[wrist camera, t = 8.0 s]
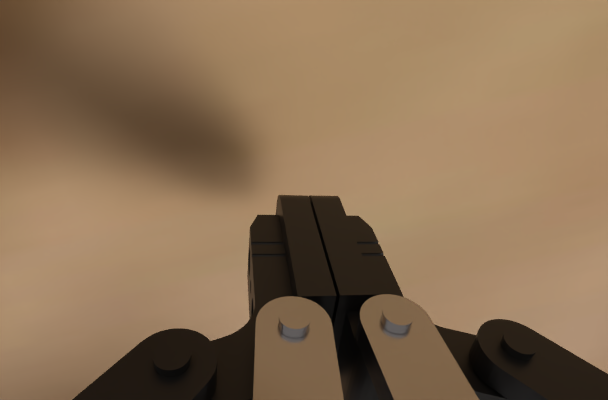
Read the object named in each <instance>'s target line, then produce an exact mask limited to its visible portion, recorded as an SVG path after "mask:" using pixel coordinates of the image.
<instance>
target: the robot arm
mask: <svg viewBox="0 0 608 400" xmlns="http://www.w3.org/2000/svg"><path fill="white" fill-rule="evenodd" d="M248 295H249V315H250V320H249V321H248V323H247V324H246V325H245V326H244V327H242V328H241V329H240V330H238V331H236V332H235V333H233V334H231V335H228V336H225V337H222V338H219V339H216V340H213V341H210V340H209V339H208V338H207V337H205V336H204V335H202V334H200V333H198V332H196V331H193V330H189V329H168V330H164V331H160V332H158V333H155V334H153V335H151V336H149V337H148V338H146V339H145V340H143V341H142V342H141V343H139V344H138V345H137V346H136V347H135V348H133V349H132V350H131V351H130V352H129V353H127V354H126V355H125V356H124V357H123V358H122V359H120V360H119V361H118V362H117V363H116V364H114V365H113V366H112V367H111V368H110V369H108V370H107V371H106V372H105V373H104V374H102V375H101V376H100V377H99V378H98V379H96V380H95V381H94V382H93V383H92V384H90V385H89V386H88V387H87V388H86V389H84V390H83V391H82V392H81V393H80V394H78V395H77V396H76V397H75V398H74V399H73V400H608V374H607V373H605V372H603V371H602V370H600V369H598V368H596V367H595V366H593V365H591V364H590V363H588V362H586V361H585V360H583V359H581V358H579V357H578V356H576V355H574V354H573V353H571V352H569V351H568V350H566V349H564V348H562V347H561V346H559V345H557V344H556V343H554V342H552V341H550V340H549V339H547V338H545V337H544V336H542V335H540V334H539V333H537V332H535V331H533V330H532V329H530V328H528V327H526V326H524V325H522V324H519V323H517V322H514V321H510V320H504V319H495V320H490V321H487V322H485V323H484V324H483V325H482V326H481V327H480V329H479V331H478V333H477V335H473V334H468V333H464V332H460V331H455V330H451V329H446V328H443V327H439V326H437V325H434V323H433V322H432V320H431V318H430V317H429V315H428V314H427V313H426V312H425V310H424V309H423V308H421V307H420V306H419V305H418V304H416V303H415V302H413V301H411V300H409V299H407V298H404V297H403V295H402V292H401V290H400V288H399V286H398V284H397V281H396V279H395V277H394V275H393V273H392V271H391V268H390V266H389V264H388V262H387V260H386V258H385V256H383V251H382V249H381V247H380V245H379V244H378V240H377V238H376V236H375V234H374V232H373V229H372V228H371V227H370V226H369V225H368V224H367V223H366V222H365V221H364V220H362V219H361V218H360V217H359V216H346V214H345V211H344V208H343V206H342V203H341V201H340V198H339V197H338V196H309V197H308V196H295V195H279V196H278V199H277V207H276V215H257V217H256V219H255V220H254V222H253V223H252V225H251V227H250V238H249V256H248Z"/></svg>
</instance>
